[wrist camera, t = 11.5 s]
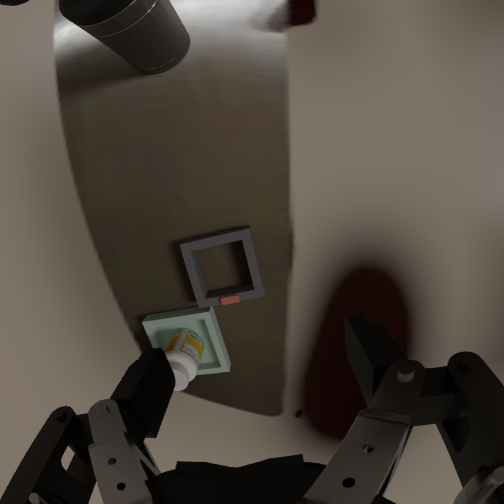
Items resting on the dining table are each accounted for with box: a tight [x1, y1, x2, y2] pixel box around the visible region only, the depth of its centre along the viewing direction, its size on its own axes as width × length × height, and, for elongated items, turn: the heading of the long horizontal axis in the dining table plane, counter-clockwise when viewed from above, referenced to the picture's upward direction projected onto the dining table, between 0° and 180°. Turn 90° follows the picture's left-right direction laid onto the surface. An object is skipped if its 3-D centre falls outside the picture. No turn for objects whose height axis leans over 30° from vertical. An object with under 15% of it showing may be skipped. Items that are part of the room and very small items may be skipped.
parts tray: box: [142, 306, 231, 375], centre depth 42 cm, size 11×11×2 cm
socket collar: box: [180, 225, 265, 308], centre depth 38 cm, size 9×9×3 cm
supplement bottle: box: [164, 329, 205, 391], centre depth 38 cm, size 5×5×10 cm
